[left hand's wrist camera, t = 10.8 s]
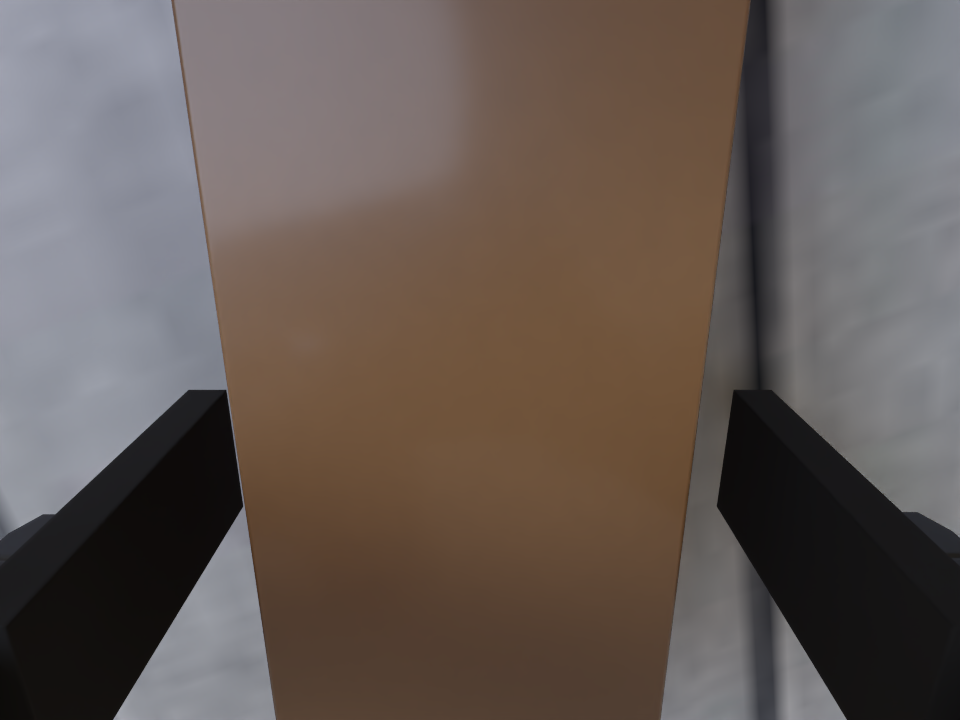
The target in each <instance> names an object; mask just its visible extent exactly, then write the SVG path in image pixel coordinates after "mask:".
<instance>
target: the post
mask: <svg viewBox="0 0 960 720" xmlns="http://www.w3.org/2000/svg"><path fill="white" fill-rule="evenodd" d="M171 1H172V8H173V15H174V22H175V28H176V35H177V42H178V49H179V56H180V63H181V70H182V77H183V83H184V90H185V97H186V104H187V111H188V118H189V125H190V132H191V138H192V145H193V152H194V159H195V166H196V173H197V180H198V187H199V193H200V200H201V207H202V214H203V221H204V228H205V235H206V242H207V248H208V255H209V262H210V269H211V276H212V283H213V290H214V297H215V303H216V310H217V317H218V324H219V331H220V338H221V345H222V352H223V358H224V365H225V372H226V379H227V386H228V393H229V400H230V407H231V413H232V420H233V427H234V434H235V441H236V448H237V455H238V462H239V468H240V475H241V482H242V489H243V496H244V503H245V510H246V517H247V523H248V530H249V537H250V544H251V551H252V558H253V565H254V572H255V578H256V585H257V592H258V599H259V606H260V613H261V620H262V627H263V633H264V640H265V647H266V654H267V661H268V668H269V675H270V682H271V688H272V695H273V702H274V709H275V716H276V720H660V718H661V710H662V702H663V694H664V686H665V678H666V670H667V663H668V655H669V647H670V639H671V631H672V623H673V615H674V607H675V599H676V591H677V583H678V575H679V567H680V559H681V551H682V543H683V535H684V527H685V519H686V511H687V503H688V495H689V487H690V479H691V471H692V463H693V455H694V448H695V440H696V432H697V424H698V416H699V408H700V400H701V392H702V384H703V376H704V368H705V360H706V352H707V344H708V336H709V328H710V320H711V312H712V304H713V296H714V288H715V280H716V272H717V264H718V256H719V248H720V240H721V233H722V225H723V217H724V209H725V201H726V193H727V185H728V177H729V169H730V161H731V153H732V145H733V137H734V129H735V121H736V113H737V105H738V97H739V89H740V81H741V73H742V65H743V57H744V49H745V41H746V33H747V26H748V18H749V10H750V2H751V0H171Z"/></svg>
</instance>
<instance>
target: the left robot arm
mask: <svg viewBox="0 0 960 720" xmlns="http://www.w3.org/2000/svg"><path fill="white" fill-rule="evenodd" d="M242 507H243V502H242V495H241V488H240V481H239V474H238V467H237V460H236V453H235V447H234V440H233V433H232V426H231V419H230V412H229V405H228V398H227V392H226V390H188V391H187V392H186V393H185V394H184V395H183V396H182V397H181V398H180V399H179V400H178V401H176V402H175V403H174V404H173V405H172V406H171V407H170V408H169V409H168V410H167V411H166V412H165V413H164V414H163V415H161V416H160V417H159V418H158V419H157V420H156V421H155V422H154V423H153V424H152V425H151V426H150V427H149V428H148V429H146V430H145V431H144V432H143V433H142V434H141V435H140V436H139V437H138V438H137V439H136V440H135V441H134V442H133V443H131V444H130V445H129V446H128V447H127V448H126V449H125V450H124V451H123V452H122V453H121V454H120V455H119V456H118V457H116V458H115V459H114V460H113V461H112V462H111V463H110V464H109V465H108V466H107V467H106V468H105V469H104V470H103V471H101V472H100V473H99V474H98V475H97V476H96V477H95V478H94V479H93V480H92V481H91V482H90V483H89V484H88V485H86V486H85V487H84V488H83V489H82V490H81V491H80V492H79V493H78V494H77V495H76V496H75V497H74V498H73V499H71V500H70V501H69V502H68V503H67V504H66V505H65V506H64V507H63V508H62V509H61V510H60V511H59V512H58V513H56V514H43V515H41V516H39V517H38V518H36V519H34V520H32V521H30V522H29V523H27V524H25V525H23V526H21V527H20V528H18V529H16V530H14V531H12V532H10V533H9V534H7V535H6V536H5V537H4V538H3V539H2V540H1V541H0V720H113V719H114V717H115V716H116V714H117V712H118V711H119V709H120V707H121V706H122V704H123V702H124V701H125V699H126V698H127V696H128V694H129V693H130V691H131V689H132V688H133V686H134V684H135V683H136V681H137V679H138V678H139V676H140V675H141V673H142V671H143V670H144V668H145V666H146V665H147V663H148V661H149V660H150V658H151V657H152V655H153V653H154V652H155V650H156V648H157V647H158V645H159V643H160V642H161V640H162V639H163V637H164V635H165V634H166V632H167V630H168V629H169V627H170V625H171V624H172V622H173V620H174V619H175V617H176V616H177V614H178V612H179V611H180V609H181V607H182V606H183V604H184V602H185V601H186V599H187V598H188V596H189V594H190V593H191V591H192V589H193V588H194V586H195V584H196V583H197V581H198V579H199V578H200V576H201V575H202V573H203V571H204V570H205V568H206V566H207V565H208V563H209V561H210V560H211V558H212V557H213V555H214V553H215V552H216V550H217V548H218V547H219V545H220V543H221V542H222V540H223V539H224V537H225V535H226V534H227V532H228V530H229V529H230V527H231V525H232V524H233V522H234V520H235V519H236V517H237V516H238V514H239V512H240V511H241V509H242ZM717 507H718V509H719V511H720V512H721V514H722V516H723V517H724V519H725V520H726V522H727V524H728V525H729V527H730V529H731V530H732V532H733V534H734V535H735V537H736V538H737V540H738V542H739V543H740V545H741V547H742V548H743V550H744V552H745V553H746V555H747V557H748V558H749V560H750V561H751V563H752V565H753V566H754V568H755V570H756V571H757V573H758V575H759V576H760V578H761V579H762V581H763V583H764V584H765V586H766V588H767V589H768V591H769V593H770V594H771V596H772V598H773V599H774V601H775V602H776V604H777V606H778V607H779V609H780V611H781V612H782V614H783V616H784V617H785V619H786V620H787V622H788V624H789V625H790V627H791V629H792V630H793V632H794V634H795V635H796V637H797V638H798V640H799V642H800V643H801V645H802V647H803V648H804V650H805V652H806V653H807V655H808V657H809V658H810V660H811V661H812V663H813V665H814V666H815V668H816V670H817V671H818V673H819V675H820V676H821V678H822V679H823V681H824V683H825V684H826V686H827V688H828V689H829V691H830V693H831V694H832V696H833V698H834V699H835V701H836V702H837V704H838V706H839V707H840V709H841V711H842V712H843V714H844V716H845V717H846V719H847V720H960V538H959V537H958V536H957V535H956V534H955V533H954V532H952V531H951V530H949V529H947V528H945V527H943V526H942V525H940V524H938V523H936V522H934V521H933V520H931V519H929V518H927V517H925V516H923V515H922V514H920V513H918V512H901V511H900V510H899V509H898V508H897V507H896V506H895V505H894V504H893V503H892V502H891V501H890V500H889V499H887V498H886V497H885V496H884V495H883V494H882V493H881V492H880V491H879V490H878V489H877V488H876V487H875V486H874V485H872V484H871V483H870V482H869V481H868V480H867V479H866V478H865V477H864V476H863V475H862V474H861V473H860V472H859V471H857V470H856V469H855V468H854V467H853V466H852V465H851V464H850V463H849V462H848V461H847V460H846V459H845V458H844V457H842V456H841V455H840V454H839V453H838V452H837V451H836V450H835V449H834V448H833V447H832V446H831V445H830V444H829V443H827V442H826V441H825V440H824V439H823V438H822V437H821V436H820V435H819V434H818V433H817V432H816V431H815V430H814V429H812V428H811V427H810V426H809V425H808V424H807V423H806V422H805V421H804V420H803V419H802V418H801V417H800V416H799V415H798V414H796V413H795V412H794V411H793V410H792V409H791V408H790V407H789V406H788V405H787V404H786V403H785V402H784V401H783V400H781V399H780V398H779V397H778V396H777V395H776V394H775V393H774V392H773V391H772V390H734V392H733V399H732V405H731V412H730V419H729V426H728V433H727V440H726V447H725V454H724V460H723V467H722V474H721V481H720V488H719V495H718V502H717Z"/></svg>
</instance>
